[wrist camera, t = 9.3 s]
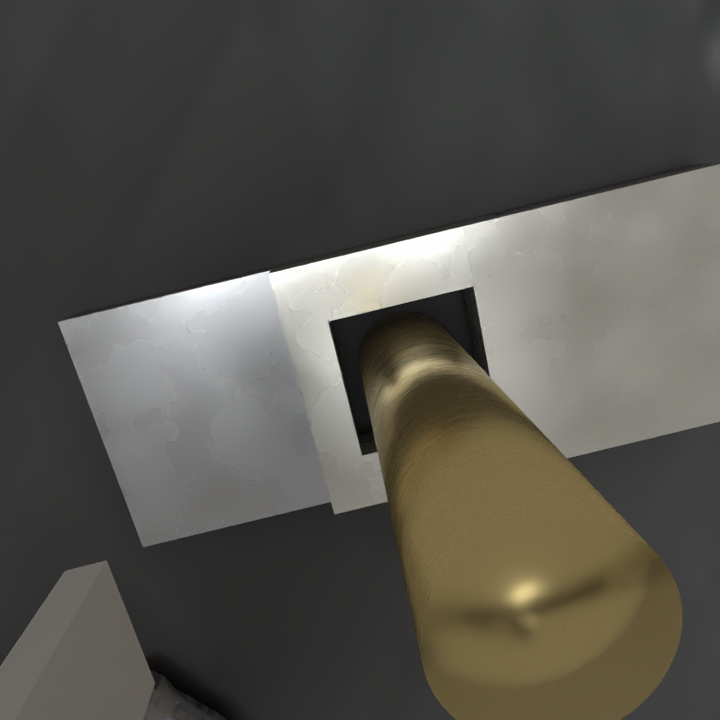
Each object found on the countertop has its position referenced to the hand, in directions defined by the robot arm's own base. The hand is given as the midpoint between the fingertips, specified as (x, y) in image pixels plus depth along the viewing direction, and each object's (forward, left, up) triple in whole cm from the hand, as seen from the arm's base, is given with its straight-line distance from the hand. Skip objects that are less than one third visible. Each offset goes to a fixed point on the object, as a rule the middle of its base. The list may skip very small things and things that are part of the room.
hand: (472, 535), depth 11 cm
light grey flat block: (+5, 0, -12) cm, 13 cm away
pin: (0, 0, -12) cm, 12 cm away
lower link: (-4, 0, -12) cm, 13 cm away
